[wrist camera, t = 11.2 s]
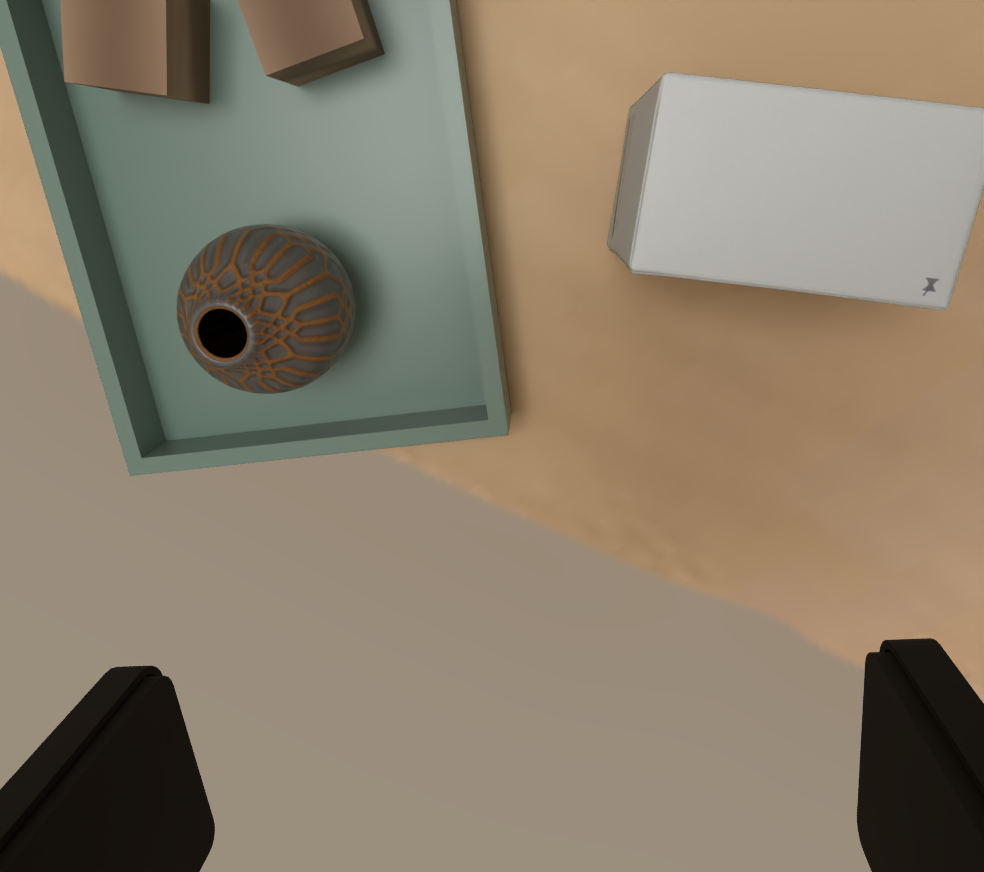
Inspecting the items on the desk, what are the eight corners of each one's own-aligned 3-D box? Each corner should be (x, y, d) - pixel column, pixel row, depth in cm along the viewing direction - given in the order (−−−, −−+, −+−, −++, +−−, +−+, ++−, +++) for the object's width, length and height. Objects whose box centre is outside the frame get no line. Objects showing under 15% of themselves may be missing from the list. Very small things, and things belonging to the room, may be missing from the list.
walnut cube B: (210, -1, 32) (165, -23, 28) (209, 104, 33) (166, 95, 30) (115, -13, 32) (58, -37, 28) (118, 91, 34) (64, 81, 30)
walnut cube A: (350, -51, 31) (324, -81, 27) (384, 54, 32) (363, 38, 29) (260, -15, 32) (222, -40, 28) (297, 86, 33) (265, 75, 29)
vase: (398, 321, 36) (355, 366, 28) (281, 395, 38) (206, 458, 29) (311, 188, 34) (237, 194, 26) (192, 271, 36) (86, 301, 28)
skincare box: (874, 125, 33) (1016, 105, 23) (835, 278, 35) (949, 321, 25) (627, 96, 33) (663, 64, 23) (603, 250, 35) (626, 281, 25)
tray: (441, -110, 31) (430, -141, 28) (511, 413, 38) (508, 435, 35) (24, -34, 33) (-30, -55, 30) (162, 452, 40) (130, 475, 37)
